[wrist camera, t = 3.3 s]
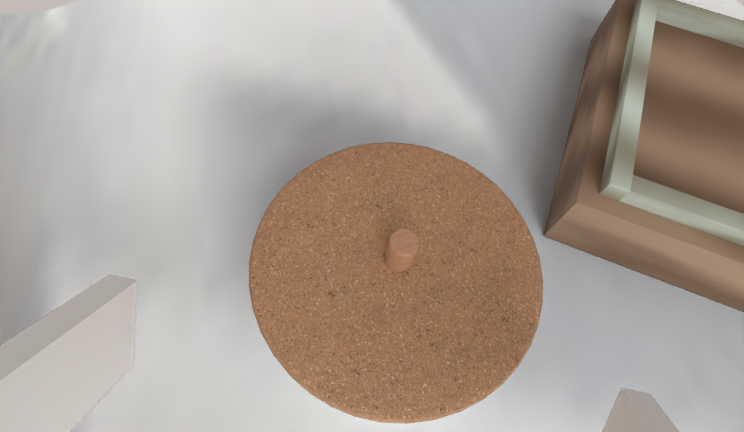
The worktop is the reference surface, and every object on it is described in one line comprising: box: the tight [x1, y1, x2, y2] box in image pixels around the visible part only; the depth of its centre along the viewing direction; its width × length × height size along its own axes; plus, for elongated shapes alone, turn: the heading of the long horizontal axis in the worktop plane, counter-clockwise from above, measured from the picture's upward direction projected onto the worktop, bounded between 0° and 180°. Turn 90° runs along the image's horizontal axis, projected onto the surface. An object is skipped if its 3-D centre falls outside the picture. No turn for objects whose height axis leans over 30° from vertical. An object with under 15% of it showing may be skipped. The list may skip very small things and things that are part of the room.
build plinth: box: [544, 0, 744, 312], centre depth 27 cm, size 18×18×5 cm
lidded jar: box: [249, 142, 543, 423], centre depth 19 cm, size 11×11×9 cm
